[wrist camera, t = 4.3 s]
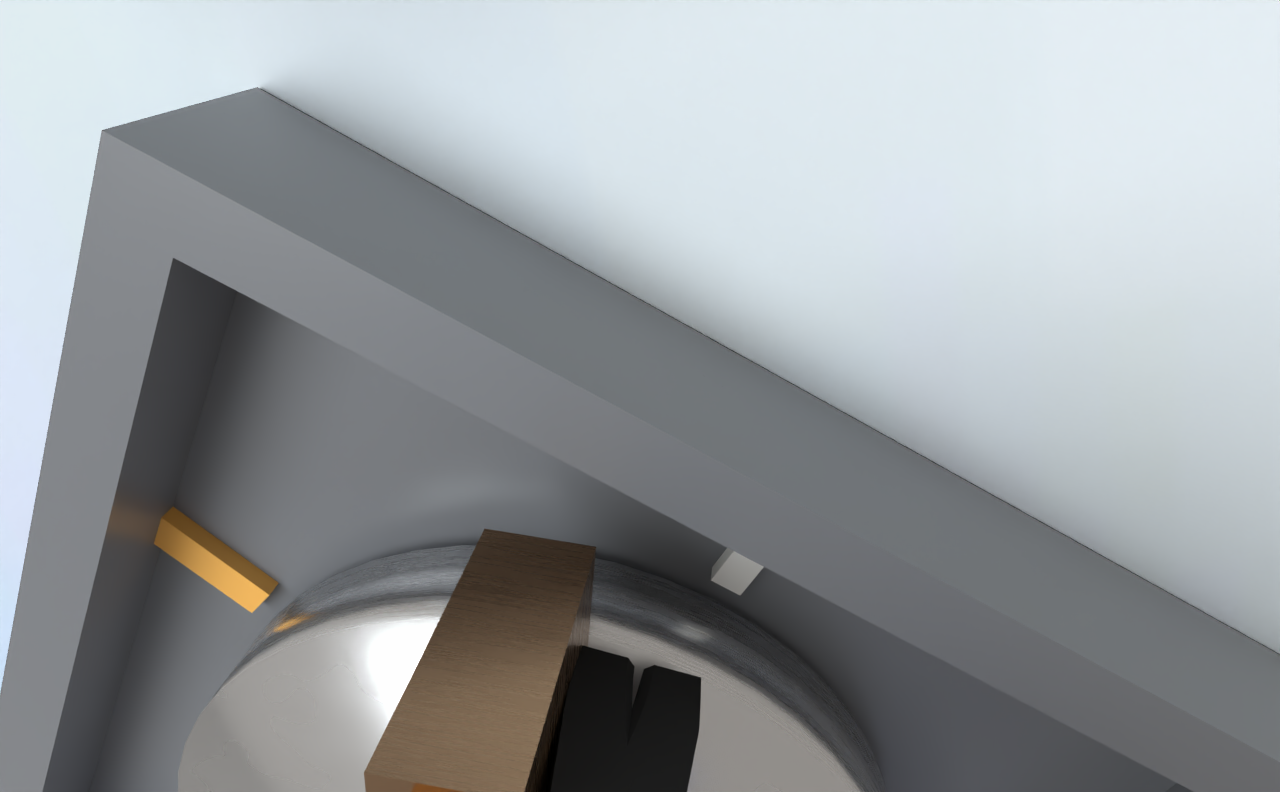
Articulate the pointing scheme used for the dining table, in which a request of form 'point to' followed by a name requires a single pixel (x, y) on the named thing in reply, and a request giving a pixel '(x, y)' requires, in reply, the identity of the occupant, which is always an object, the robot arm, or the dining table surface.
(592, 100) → the dining table surface
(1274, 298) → the dining table surface
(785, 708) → the dial
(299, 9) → the dining table surface
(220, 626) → the tray
